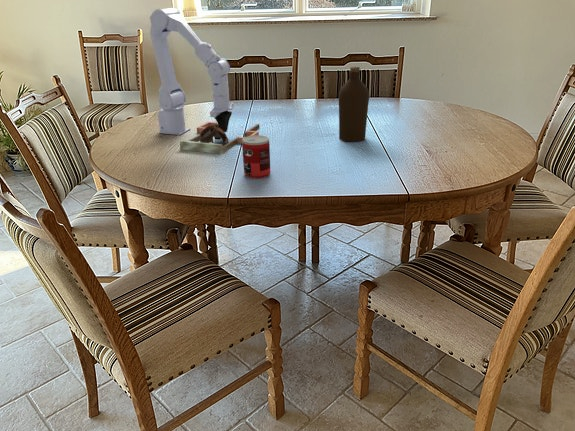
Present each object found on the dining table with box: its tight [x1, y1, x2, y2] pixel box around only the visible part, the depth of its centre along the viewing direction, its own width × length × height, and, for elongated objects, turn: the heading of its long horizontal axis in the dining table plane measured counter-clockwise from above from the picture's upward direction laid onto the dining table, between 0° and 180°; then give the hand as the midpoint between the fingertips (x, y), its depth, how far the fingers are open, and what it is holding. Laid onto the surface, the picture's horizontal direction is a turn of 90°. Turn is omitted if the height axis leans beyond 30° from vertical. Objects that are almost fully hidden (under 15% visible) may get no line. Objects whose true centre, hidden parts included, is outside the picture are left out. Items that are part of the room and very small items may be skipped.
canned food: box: [241, 134, 271, 179], centre depth 143 cm, size 8×8×11 cm
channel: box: [178, 123, 260, 155], centre depth 178 cm, size 16×32×3 cm, turn 160°
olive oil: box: [338, 66, 370, 143], centre depth 170 cm, size 11×11×25 cm
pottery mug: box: [198, 125, 230, 145], centre depth 171 cm, size 12×10×8 cm
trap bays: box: [196, 121, 260, 144], centre depth 182 cm, size 25×16×2 cm, turn 70°
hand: (223, 131), depth 180 cm, fingers closed
